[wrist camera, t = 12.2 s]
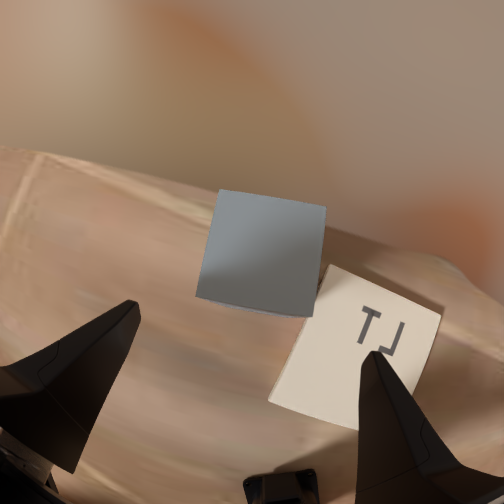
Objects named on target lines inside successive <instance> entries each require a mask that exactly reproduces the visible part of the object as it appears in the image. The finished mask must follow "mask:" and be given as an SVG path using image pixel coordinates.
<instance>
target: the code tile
mask: <svg viewBox="0 0 504 504" xmlns="http://www.w3.org/2000/svg"><path fill="white" fill-rule="evenodd" d="M440 319H441V315H439V314H437V313H435V312H433V311H431V310H429V309H427V308H425V307H423V306H421V305H418V304H416V303H414V302H412V301H410V300H408V299H406V298H404V297H402V296H399V295H397V294H395V293H393V292H391V291H389V290H387V289H384V288H382V287H380V286H378V285H376V284H374V283H371V282H369V281H367V280H365V279H363V278H361V277H358V276H356V275H354V274H352V273H350V272H347V271H345V270H343V269H341V268H339V267H336V266H334V265H332V264H330V265H329V266H328V267H327V269H326V272H325V274H324V277H323V279H322V282H321V284H320V287H319V289H318V291H317V294H316V299H315V305H314V312H313V317H306V320H305V322H304V324H303V326H302V329H301V331H300V333H299V335H298V337H297V340H296V342H295V344H294V346H293V348H292V350H291V353H290V355H289V357H288V359H287V361H286V363H285V365H284V367H283V369H282V371H281V373H280V375H279V377H278V379H277V381H276V383H275V385H274V387H273V389H272V391H271V393H270V395H269V397H268V401H269V402H272V403H275V404H277V405H280V406H282V407H285V408H288V409H291V410H293V411H296V412H299V413H302V414H305V415H308V416H311V417H314V418H317V419H320V420H323V421H327V422H330V423H333V424H337V425H340V426H344V427H347V428H351V429H355V430H359V417H358V400H359V388H360V374H361V365H362V363H363V361H364V360H365V358H366V357H367V355H368V354H369V352H370V351H380V352H382V354H383V355H384V356H385V358H386V359H387V361H388V362H389V363H390V365H391V366H392V368H393V369H394V371H395V372H396V373H397V375H398V376H399V378H400V379H401V381H402V382H403V384H404V385H405V387H406V388H407V390H408V391H409V393H410V394H411V396H412V394H413V392H414V389H415V387H416V385H417V382H418V380H419V378H420V375H421V373H422V370H423V368H424V365H425V363H426V360H427V358H428V355H429V352H430V349H431V347H432V344H433V341H434V338H435V335H436V332H437V328H438V325H439V322H440Z"/></svg>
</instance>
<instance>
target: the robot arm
mask: <svg viewBox="0 0 504 504" xmlns="http://www.w3.org/2000/svg"><path fill="white" fill-rule="evenodd" d="M140 321H141V314H140V309H139V304H138V302H136V301H132V300H126V301H125V302H123V303H121V304H119V305H118V306H116V307H114V308H112V309H111V310H109V311H107V312H105V313H104V314H102V315H100V316H99V317H97V318H95V319H93V320H92V321H90V322H88V323H87V324H85V325H83V326H81V327H80V328H78V329H76V330H75V331H73V332H71V333H70V334H68V335H66V336H65V337H63V338H61V339H60V340H58V341H56V342H54V343H53V344H51V345H49V346H47V347H46V348H44V349H42V350H40V351H38V352H36V353H34V354H32V355H30V356H28V357H26V358H24V359H21V360H19V361H17V362H15V363H13V364H11V365H7V366H1V367H0V504H73V503H72V502H70V501H68V500H67V499H65V498H64V497H62V496H60V495H59V494H58V493H59V492H58V490H57V487H56V485H55V482H54V480H53V477H52V474H51V469H52V467H53V465H54V464H55V465H57V466H58V467H60V468H62V469H64V470H65V471H67V472H69V473H71V474H73V473H74V471H75V469H76V466H77V464H78V461H79V459H80V456H81V454H82V452H83V449H84V447H85V444H86V442H87V440H88V437H89V435H90V433H91V430H92V428H93V426H94V423H95V421H96V419H97V417H98V415H99V412H100V410H101V408H102V406H103V404H104V402H105V400H106V397H107V395H108V393H109V391H110V389H111V387H112V385H113V383H114V381H115V379H116V377H117V375H118V373H119V371H120V369H121V367H122V365H123V363H124V361H125V359H126V357H127V355H128V352H129V350H130V347H131V345H132V342H133V339H134V337H135V334H136V332H137V329H138V327H139V324H140ZM358 417H359V434H358V468H357V485H356V496H355V504H504V477H497V476H493V475H490V474H487V473H484V472H480V471H477V470H474V469H471V468H469V467H466V466H464V465H462V464H461V463H460V462H459V461H458V460H457V459H456V458H455V457H454V455H453V454H452V453H451V451H450V450H449V449H448V448H447V446H446V445H445V444H444V442H443V441H442V440H441V438H440V437H439V436H438V434H437V433H436V432H435V430H434V429H433V427H432V426H431V424H430V423H429V421H428V420H427V418H426V417H425V415H424V414H423V412H422V411H421V409H420V408H419V406H418V405H417V403H416V401H415V400H414V398H413V397H412V396H411V394H410V393H409V391H408V390H407V388H406V387H405V385H404V384H403V382H402V381H401V379H400V378H399V376H398V375H397V373H396V372H395V371H394V369H393V368H392V366H391V365H390V363H389V362H388V361H387V359H386V358H385V356H384V355H383V354H382V352H380V351H370V352H369V354H368V355H367V357H366V358H365V360H364V361H363V363H362V365H361V374H360V388H359V400H358ZM309 473H312V474H311V475H308V474H309ZM246 483H251V484H246ZM243 487H244V491H245V495H246V499H247V502H248V504H319V494H318V485H317V477H316V472H315V470H314V469H307V470H302V471H297V472H288V473H282V474H276V475H269V476H264V477H257V478H248V479H245V480H244V481H243Z"/></svg>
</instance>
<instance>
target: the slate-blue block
mask: <svg viewBox="0 0 504 504" xmlns="http://www.w3.org/2000/svg"><path fill="white" fill-rule="evenodd" d="M326 209H327V207H326V206H320V205H315V204H310V203H305V202H298V201H293V200H288V199H282V198H275V197H269V196H263V195H257V194H250V193H243V192H236V191H229V190H222V189H220V190H219V193H218V197H217V202H216V206H215V210H214V214H213V218H212V222H211V227H210V231H209V235H208V240H207V244H206V249H205V253H204V258H203V262H202V267H201V272H200V276H199V281H198V286H197V291H196V297H198V298H201V299H204V300H207V301H210V302H213V303H216V304H219V305H222V306H225V307H230V308H235V309H240V310H246V311H251V312H257V313H263V314H268V315H274V316H280V317H287V318H297V317H313V312H314V305H315V299H316V292H317V285H318V278H319V271H320V263H321V255H322V247H323V238H324V229H325V219H326Z"/></svg>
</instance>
